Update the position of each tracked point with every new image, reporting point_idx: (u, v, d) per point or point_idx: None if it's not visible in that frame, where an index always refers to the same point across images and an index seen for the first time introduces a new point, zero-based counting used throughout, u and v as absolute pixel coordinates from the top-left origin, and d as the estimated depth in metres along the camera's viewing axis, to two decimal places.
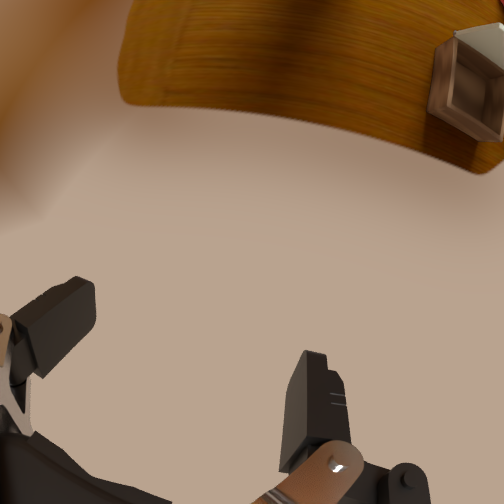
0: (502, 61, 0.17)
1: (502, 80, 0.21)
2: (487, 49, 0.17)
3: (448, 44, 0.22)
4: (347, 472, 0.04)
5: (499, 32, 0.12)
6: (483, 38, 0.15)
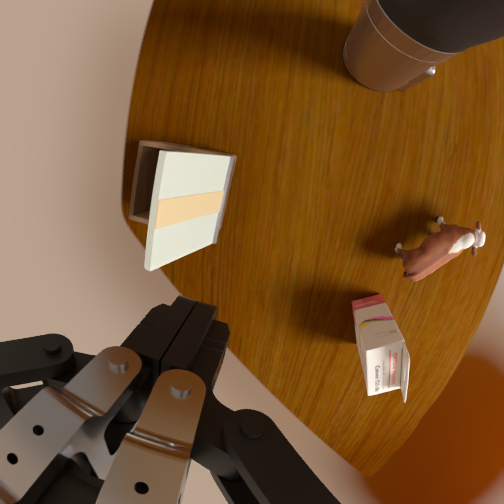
0: None
1: None
2: None
3: (221, 153, 0.31)
4: (180, 397, 0.06)
5: None
6: None
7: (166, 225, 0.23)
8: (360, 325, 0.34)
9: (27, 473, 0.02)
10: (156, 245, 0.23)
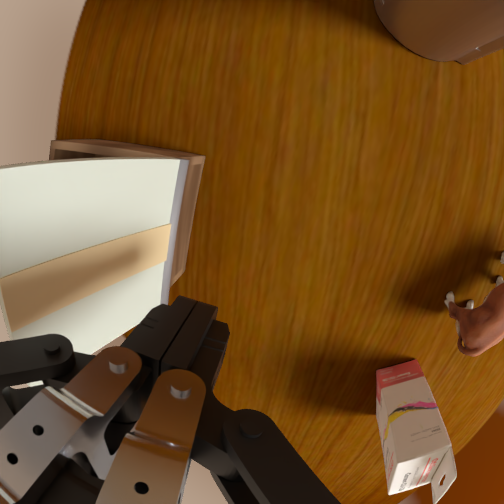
0: None
1: None
2: None
3: (171, 154, 0.17)
4: (180, 397, 0.06)
5: None
6: None
7: (38, 317, 0.09)
8: (390, 417, 0.19)
9: (27, 473, 0.02)
10: None
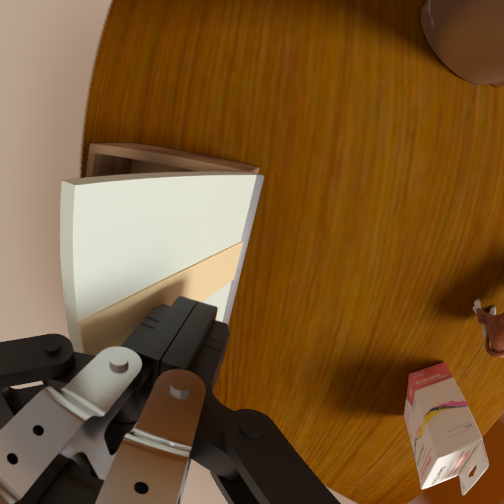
0: None
1: None
2: None
3: (236, 166, 0.17)
4: (180, 397, 0.06)
5: None
6: None
7: None
8: (426, 416, 0.19)
9: (27, 474, 0.02)
10: None
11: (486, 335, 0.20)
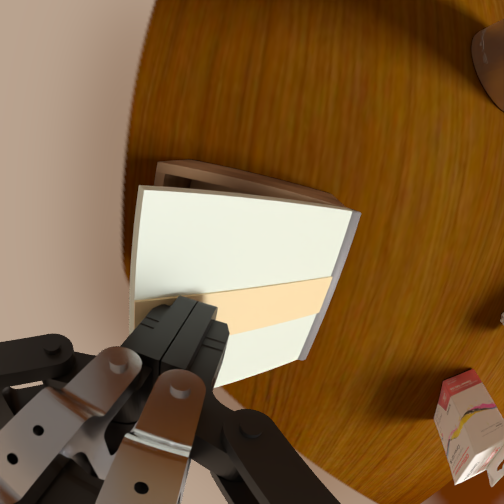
0: None
1: None
2: None
3: (327, 199, 0.16)
4: (180, 397, 0.06)
5: None
6: None
7: None
8: (462, 419, 0.19)
9: (27, 473, 0.02)
10: None
11: None
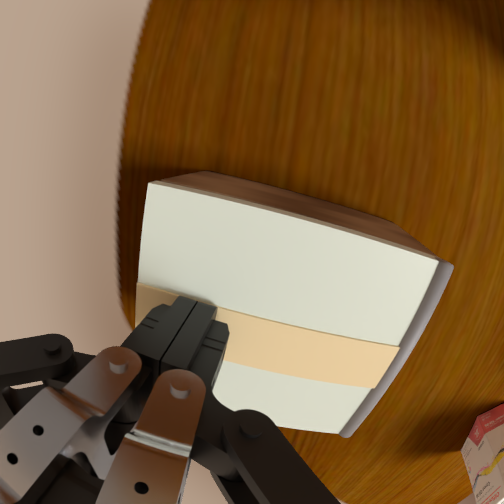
0: None
1: None
2: None
3: (407, 240, 0.11)
4: (180, 397, 0.06)
5: None
6: None
7: None
8: (496, 458, 0.13)
9: (27, 473, 0.02)
10: None
11: None
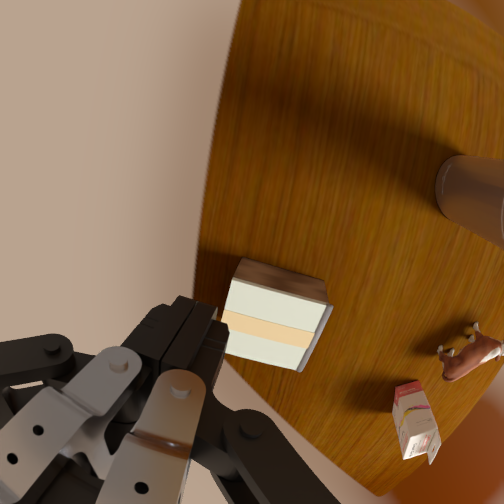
0: None
1: None
2: None
3: (320, 295, 0.32)
4: (180, 397, 0.06)
5: None
6: None
7: (232, 329, 0.32)
8: (405, 413, 0.35)
9: (27, 473, 0.02)
10: None
11: (444, 367, 0.36)
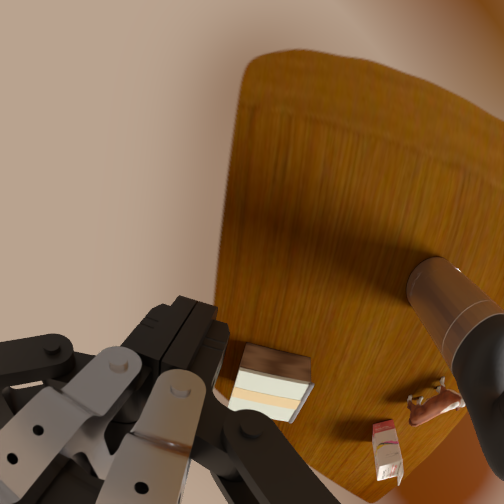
0: None
1: None
2: None
3: (305, 374, 0.41)
4: (180, 397, 0.06)
5: None
6: None
7: (240, 398, 0.41)
8: (377, 447, 0.43)
9: (27, 473, 0.02)
10: (232, 402, 0.42)
11: None
